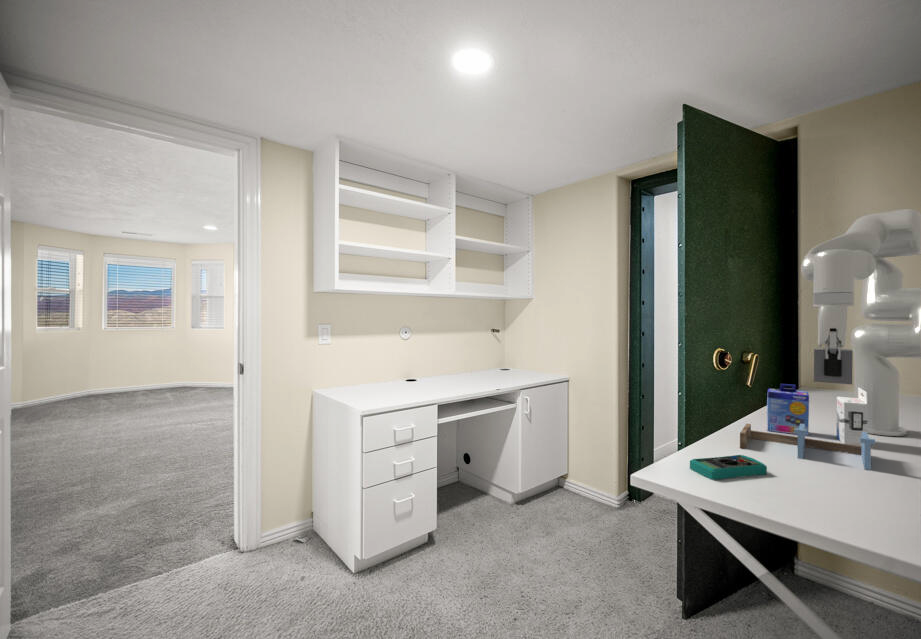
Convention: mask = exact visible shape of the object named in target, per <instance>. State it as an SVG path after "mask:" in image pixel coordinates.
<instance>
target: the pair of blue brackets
mask: <svg viewBox="0 0 921 639" xmlns="http://www.w3.org/2000/svg"><path fill="white" fill-rule="evenodd" d="M794 433H796V434H798V435H797V437H798V445H797V459H804V455H805V454H804V453H805V449H806V447H805V438H806V436H805V435H807V430H805V424H800V426H799V429H797V428H794ZM860 443H862V444H861V455H862V456H861V455H860V456H861V458H862V460H861V461H862V464H864V465H863V469H864V470H866V471H871V468H872V467H871V465H872V464H871V462H872V461H871V458H872V457H871V454H872V449H871V447H872V446H871V445H876V439H875V438H871V437H869V433H867V432H863V431H862V437H860Z"/></svg>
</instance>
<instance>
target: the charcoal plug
mask: <svg viewBox="0 0 921 639" xmlns="http://www.w3.org/2000/svg"><path fill="white" fill-rule="evenodd" d="M828 350H829V349H828ZM828 357H829V353H828ZM837 357H838V354H837ZM825 358H826V349H825V348H822V347H820V348H819V347H815V348H814V350H813V382H814V383H815V382H816V383H829V384H839V385H841V384H842V385H852V386H853V361H854V360H853V359H854V353H853V348H849V349H848V348H847V349H845V348H841V354H840V360H842V376H841V377H835V376H825V375H824V359H825ZM828 359H829V358H828ZM837 360H838V358H837Z"/></svg>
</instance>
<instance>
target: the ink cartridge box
mask: <svg viewBox="0 0 921 639" xmlns="http://www.w3.org/2000/svg"><path fill="white" fill-rule="evenodd" d="M788 387H789V388H788ZM796 388H797V386H796V384H790V383H789V384H788V383H780V386H779V388H767V398H766V399H767V400H766V417H767V418H766V421H767V424H766V425H767V427H766V428H767V429H766V430H767V432H774V433H779V434H780V433H781V434H782V433H783V434H789V435H794V436H796V435H797V436H798V434H796V433H794V428H797V429H799V426H800V424H805V430H807V435H805V437H808V436H809V435H810V433H809V421H810V420H809V418H810V417H809V416H810V414H809V413H810V395H809V392H808V391H805V390H797V389H796Z"/></svg>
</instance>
